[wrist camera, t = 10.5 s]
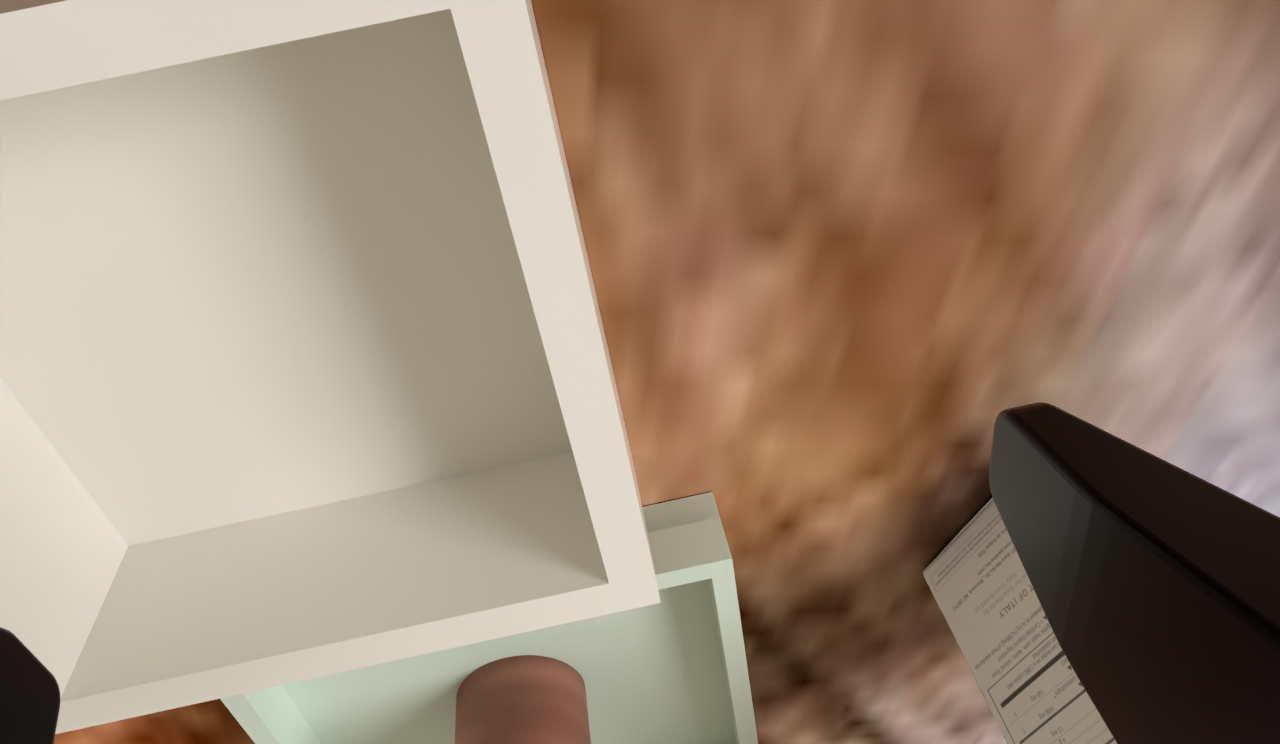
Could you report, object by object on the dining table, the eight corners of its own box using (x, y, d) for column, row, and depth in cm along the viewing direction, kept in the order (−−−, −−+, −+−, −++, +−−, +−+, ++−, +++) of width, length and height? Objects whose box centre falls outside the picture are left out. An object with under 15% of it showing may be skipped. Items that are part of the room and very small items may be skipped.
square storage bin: (500, -135, 15) (504, -89, 11) (631, 455, 24) (661, 602, 20) (-307, 27, 15) (-599, 134, 11) (116, 565, 23) (38, 737, 19)
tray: (712, 492, 25) (731, 558, 23) (747, 723, 32) (764, 789, 30) (223, 596, 25) (200, 673, 23) (369, 806, 32) (361, 879, 30)
